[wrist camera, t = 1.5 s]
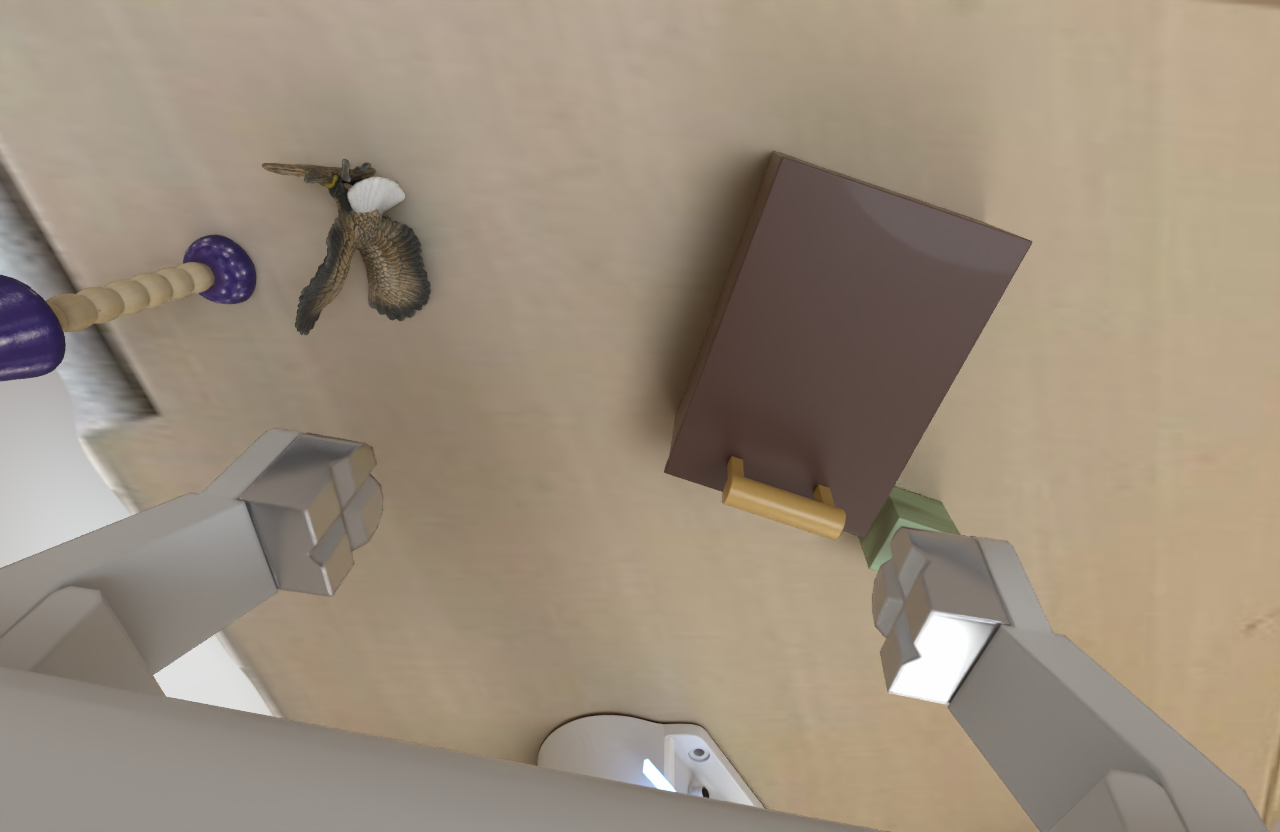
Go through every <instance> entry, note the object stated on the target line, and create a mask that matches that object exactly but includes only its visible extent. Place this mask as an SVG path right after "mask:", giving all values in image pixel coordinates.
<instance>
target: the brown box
mask: <svg viewBox="0 0 1280 832" xmlns="http://www.w3.org/2000/svg"><path fill="white" fill-rule="evenodd" d="M782 156H784V157H787V158H790V159H793V160H796V161H798V162H801V163H804V164H807V165H810V166H813V167H816V168H819V169H822V170H825V171H828V172H831V173H834V174H837V175H840V176H843V177H845V178H848V179H851V180H854V181H857V182H860V183H863V184H866V185H869V186H872V187H875V188H878V189H881V190H884V191H887V192H890V193H892V194H895V195H898V196H901V197H904V198H907V199H910V200H913V201H916V202H919V203H922V204H925V205H928V206H931V207H934V208H937V209H939V210H942V211H945V212H948V213H951V214H954V215H957V216H960V217H963V218H966V219H969V220H972V221H975V222H978V223H981V224H984V225H986V226H989V227H992V228H995V229H998V230H1001V231H1004V232H1007V231H1005V230H1002V229H1000V228H997V227H995V226H992V225H989V224H987V223H984V222H981V221H979V220H976V219H973V218H970V217H967V216H964V215H961V214H958V213H955V212H952V211H949V210H946V209H943V208H940V207H937V206H934V205H932V204H929V203H926V202H923V201H920V200H917V199H914V198H911V197H908V196H905V195H902V194H899V193H896V192H893V191H890V190H887V189H885V188H882V187H879V186H876V185H873V184H870V183H867V182H864V181H861V180H858V179H855V178H852V177H849V176H846V175H843V174H840V173H838V172H835V171H832V170H829V169H826V168H823V167H820V166H817V165H814V164H811V163H808V162H805V161H802V160H799V159H796V158H794V157H791V156H788V155H785V154H782V153H779V152H776V151H773V153H772V156H771V158H770V161H769V164H768V167H767V169H766V172H765V175H764V177H763V180H762V183H761V186H760V188H759V191H758V194H757V196H756V199H755V202H754V205H753V207H752V210H751V213H750V215H749V218H748V221H747V224H746V226H745V229H744V232H743V234H742V237H741V240H740V243H739V245H738V248H737V251H736V253H735V256H734V259H733V262H732V264H731V267H730V270H729V272H728V275H727V278H726V281H725V283H724V286H723V289H722V291H721V294H720V297H719V300H718V302H717V305H716V308H715V310H714V313H713V316H712V319H711V321H710V324H709V327H708V329H707V332H706V335H705V337H704V340H703V343H702V346H701V348H700V351H699V354H698V356H697V359H696V362H695V365H694V367H693V370H692V373H691V375H690V378H689V381H688V384H687V386H686V389H685V392H684V394H683V397H682V400H681V403H680V405H679V408H678V411H677V413H676V416H675V422H674V429H673V435H672V442H671V448H670V453H671V450H672V447H673V445H674V442H675V439H676V437H677V434H678V431H679V429H680V426H681V423H682V421H683V418H684V415H685V413H686V410H687V407H688V405H689V402H690V399H691V397H692V394H693V391H694V389H695V386H696V383H697V381H698V378H699V375H700V373H701V370H702V367H703V365H704V362H705V359H706V357H707V354H708V351H709V349H710V346H711V343H712V341H713V338H714V335H715V333H716V330H717V327H718V325H719V322H720V319H721V317H722V314H723V311H724V309H725V306H726V303H727V301H728V298H729V295H730V293H731V290H732V287H733V285H734V282H735V279H736V277H737V274H738V271H739V269H740V266H741V263H742V261H743V258H744V255H745V253H746V250H747V247H748V245H749V242H750V239H751V237H752V234H753V231H754V229H755V226H756V223H757V221H758V218H759V215H760V213H761V210H762V207H763V205H764V202H765V199H766V197H767V194H768V191H769V189H770V186H771V183H772V181H773V178H774V175H775V173H776V170H777V167H778V165H779V162H780V159H781V157H782ZM1007 233H1010V232H1007ZM1010 234H1012V233H1010ZM1013 235H1015V234H1013ZM1016 236H1017V235H1016ZM1019 237H1020V236H1019Z"/></svg>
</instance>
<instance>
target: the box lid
mask: <svg viewBox="0 0 1280 832" xmlns="http://www.w3.org/2000/svg"><path fill="white" fill-rule="evenodd" d="M1031 244H1032V241H1030V240H1028V239H1025V238H1022V237H1019V236H1016V235H1013V234H1010V233H1007V232H1004V231H1001V230H998V229H995V228H992V227H989V226H986V225H984V224H981V223H978V222H975V221H972V220H969V219H966V218H963V217H960V216H957V215H954V214H951V213H948V212H945V211H942V210H939V209H937V208H934V207H931V206H928V205H925V204H922V203H919V202H916V201H913V200H910V199H907V198H904V197H901V196H898V195H895V194H892V193H890V192H887V191H884V190H881V189H878V188H875V187H872V186H869V185H866V184H863V183H860V182H857V181H854V180H851V179H848V178H845V177H843V176H840V175H837V174H834V173H831V172H828V171H825V170H822V169H819V168H816V167H813V166H810V165H807V164H804V163H801V162H798V161H796V160H793V159H790V158H787V157H784V156H782V157H781V159H780V162H779V165H778V167H777V170H776V173H775V175H774V178H773V181H772V183H771V186H770V189H769V191H768V194H767V197H766V199H765V202H764V205H763V207H762V210H761V213H760V215H759V218H758V221H757V223H756V226H755V229H754V231H753V234H752V237H751V239H750V242H749V245H748V247H747V250H746V253H745V255H744V258H743V261H742V263H741V266H740V269H739V271H738V274H737V277H736V279H735V282H734V285H733V287H732V290H731V293H730V295H729V298H728V301H727V303H726V306H725V309H724V311H723V314H722V317H721V319H720V322H719V325H718V327H717V330H716V333H715V335H714V338H713V341H712V343H711V346H710V349H709V351H708V354H707V357H706V359H705V362H704V365H703V367H702V370H701V373H700V375H699V378H698V381H697V383H696V386H695V389H694V391H693V394H692V397H691V399H690V402H689V405H688V407H687V410H686V413H685V415H684V418H683V421H682V423H681V426H680V429H679V431H678V434H677V437H676V439H675V442H674V445H673V447H672V450H671V453H670V455H669V458H668V461H667V463H666V466H665V470H664V472H665V473H667V474H670V475H673V476H676V477H679V478H682V479H685V480H688V481H692V482H695V483H698V484H701V485H704V486H707V487H710V488H713V489H716V490H719V491H722V492H723V494H722V503H723V504H726V505H729V506H732V507H735V508H738V509H741V510H744V511H747V512H750V513H753V514H757V515H760V516H763V517H766V518H769V519H772V520H775V521H778V522H781V523H784V524H787V525H790V526H793V527H796V528H799V529H803V530H806V531H809V532H812V533H815V534H818V535H821V536H824V537H827V538H830V539H833V540H835V539H837V538H838V537H839V536H840V534H841V533H842V531H845V532H848V533H851V534H854V535H857V536H860V537H863V538H864V537H865V536H866V534H867V532H868V531H869V529H870V527H871V525H872V524H873V522H874V520H875V518H876V517H877V515H878V513H879V511H880V510H881V508H882V506H883V504H884V502H885V501H886V499H887V497H888V495H889V494H890V492H891V490H892V488H893V487H894V485H895V483H896V481H897V480H898V478H899V476H900V474H901V473H902V471H903V469H904V467H905V466H906V464H907V462H908V460H909V459H910V457H911V455H912V453H913V451H914V450H915V448H916V446H917V444H918V443H919V441H920V439H921V437H922V436H923V434H924V432H925V430H926V429H927V427H928V425H929V423H930V422H931V420H932V418H933V416H934V415H935V413H936V411H937V409H938V408H939V406H940V404H941V402H942V401H943V399H944V397H945V395H946V393H947V392H948V390H949V388H950V386H951V385H952V383H953V381H954V379H955V378H956V376H957V374H958V372H959V371H960V369H961V367H962V365H963V364H964V362H965V360H966V358H967V357H968V355H969V353H970V351H971V350H972V348H973V346H974V344H975V342H976V341H977V339H978V337H979V335H980V334H981V332H982V330H983V328H984V327H985V325H986V323H987V321H988V320H989V318H990V316H991V314H992V313H993V311H994V309H995V307H996V306H997V304H998V302H999V300H1000V299H1001V297H1002V295H1003V293H1004V292H1005V290H1006V288H1007V286H1008V284H1009V283H1010V281H1011V279H1012V277H1013V276H1014V274H1015V272H1016V270H1017V269H1018V267H1019V265H1020V263H1021V262H1022V260H1023V258H1024V256H1025V255H1026V253H1027V251H1028V249H1029V248H1030V246H1031Z"/></svg>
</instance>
